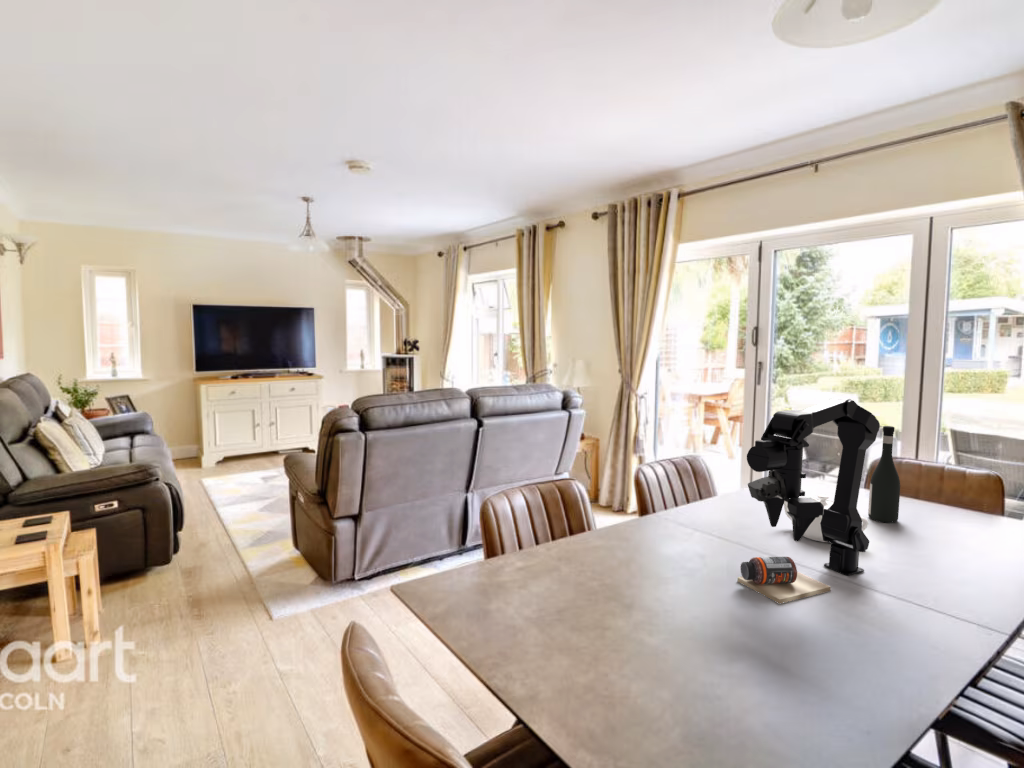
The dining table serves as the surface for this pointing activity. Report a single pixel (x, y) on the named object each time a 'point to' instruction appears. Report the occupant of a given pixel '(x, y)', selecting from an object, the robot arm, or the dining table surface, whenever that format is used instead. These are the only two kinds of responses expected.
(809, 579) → the board
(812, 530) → the teapot
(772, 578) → the supplement bottle
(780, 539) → the dining table surface
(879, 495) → the wine bottle
